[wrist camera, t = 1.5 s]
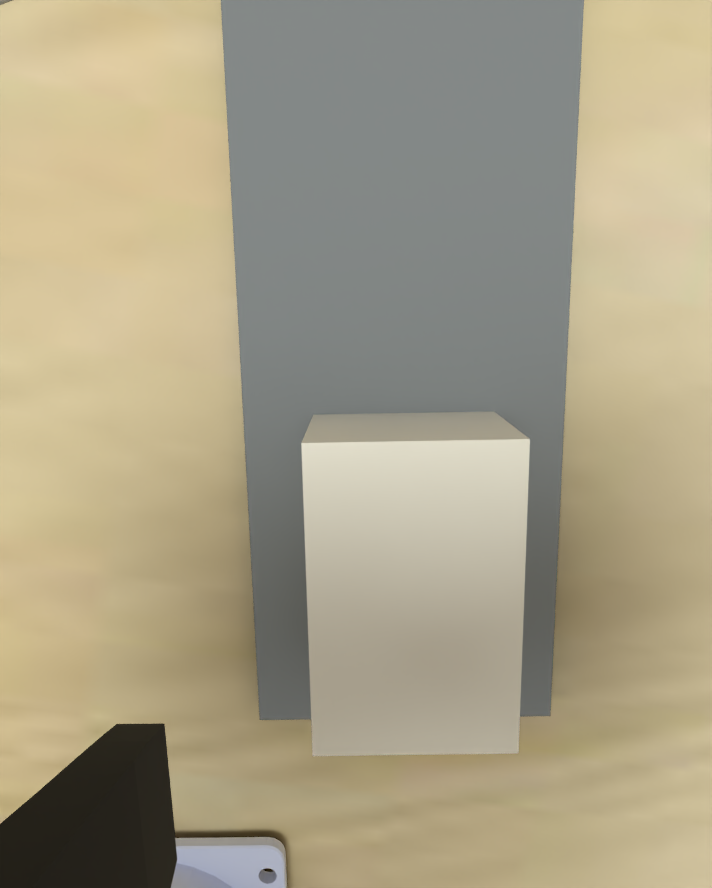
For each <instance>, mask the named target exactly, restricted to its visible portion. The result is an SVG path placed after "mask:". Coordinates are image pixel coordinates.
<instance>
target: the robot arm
mask: <svg viewBox="0 0 712 888" xmlns="http://www.w3.org/2000/svg"><path fill="white" fill-rule="evenodd" d="M266 868H269V869H272V870H274V871H273V872H266V871H264V870H263V869H266ZM0 888H287V873H286V852H285V848H284V845H283V844H282V843H281V842H280V841H279V840H277V839H275V838H271V837H221V838H175V830H174V820H173V809H172V799H171V789H170V778H169V768H168V757H167V747H166V736H165V726H164V724H116V725H115V726H114V727H113V728H111V729H110V730H109V731H108V732H106V733H105V734H104V735H103V736H102V737H100V738H99V739H98V740H97V741H96V742H95V743H93V744H92V745H91V746H90V747H89V748H88V749H86V750H85V751H84V752H83V753H82V754H81V755H80V756H78V757H77V758H76V759H75V760H74V761H73V762H72V763H70V764H69V765H68V766H67V767H66V768H65V769H64V770H62V771H61V772H60V773H59V774H58V775H57V776H56V777H54V778H53V779H52V780H51V781H50V782H49V783H47V784H46V785H45V786H44V787H43V788H42V789H41V790H39V791H38V792H37V793H36V794H35V795H34V796H32V797H31V798H30V799H29V800H28V801H27V802H25V803H24V804H23V805H22V806H21V807H20V808H18V809H17V810H16V811H15V812H14V813H13V814H11V815H10V816H9V817H8V818H7V819H5V820H4V821H3V822H2V823H1V824H0Z"/></svg>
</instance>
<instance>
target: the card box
mask: <svg viewBox="0 0 712 888" xmlns="http://www.w3.org/2000/svg"><path fill="white" fill-rule="evenodd" d="M301 449H302V476H303V504H304V532H305V559H306V587H307V615H308V642H309V670H310V698H311V725H312V753H313V756H364V755H440V754H516V753H519V728H520V700H521V673H522V645H523V618H524V591H525V563H526V536H527V508H528V481H529V453H530V439H529V438H528V437H527V436H525V435H524V434H523V433H521V432H520V431H519V430H517V429H516V428H515V427H514V426H512V425H511V424H510V423H508V422H507V421H506V420H504V419H503V418H502V417H501V416H499V415H498V414H497V413H495V412H438V413H381V414H323V415H313V417H312V419H311V421H310V424H309V426H308V429H307V431H306V433H305V436H304V438H303V440H302V443H301Z"/></svg>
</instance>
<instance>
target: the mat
mask: <svg viewBox="0 0 712 888" xmlns="http://www.w3.org/2000/svg"><path fill="white" fill-rule="evenodd" d="M583 7H584V0H221V11H222V30H223V48H224V67H225V85H226V104H227V122H228V141H229V159H230V178H231V196H232V215H233V233H234V252H235V270H236V289H237V307H238V326H239V344H240V363H241V381H242V400H243V418H244V437H245V455H246V474H247V492H248V511H249V529H250V548H251V566H252V585H253V603H254V622H255V640H256V659H257V677H258V696H259V714H260V720H294V719H311V698H310V670H309V642H308V615H307V587H306V559H305V532H304V504H303V476H302V449H301V443H302V440H303V438H304V436H305V433H306V431H307V429H308V426H309V424H310V421H311V419H312V417H313V415H323V414H381V413H438V412H495V413H497V414H498V415H499V416H501V417H502V418H503V419H504V420H506V421H507V422H508V423H510V424H511V425H512V426H514V427H515V428H516V429H517V430H519V431H520V432H521V433H523V434H524V435H525V436H527V437H528V438H529V439H530V453H529V481H528V508H527V536H526V563H525V591H524V618H523V645H522V673H521V700H520V716H550V710H551V689H552V668H553V646H554V625H555V604H556V582H557V561H558V540H559V518H560V497H561V476H562V455H563V433H564V412H565V391H566V369H567V348H568V327H569V305H570V284H571V263H572V241H573V220H574V199H575V178H576V156H577V135H578V114H579V92H580V71H581V50H582V28H583Z"/></svg>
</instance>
